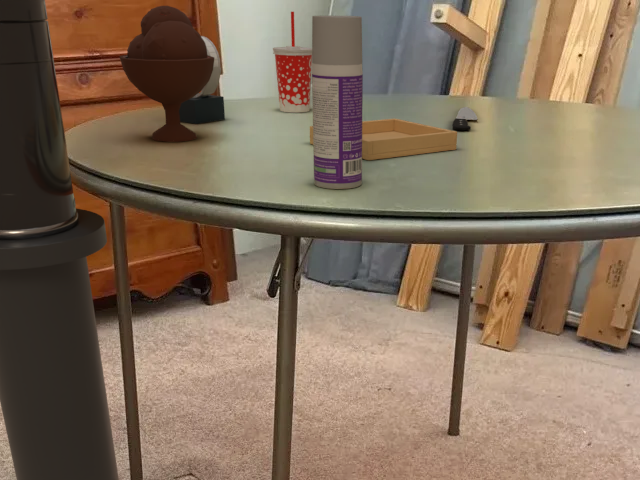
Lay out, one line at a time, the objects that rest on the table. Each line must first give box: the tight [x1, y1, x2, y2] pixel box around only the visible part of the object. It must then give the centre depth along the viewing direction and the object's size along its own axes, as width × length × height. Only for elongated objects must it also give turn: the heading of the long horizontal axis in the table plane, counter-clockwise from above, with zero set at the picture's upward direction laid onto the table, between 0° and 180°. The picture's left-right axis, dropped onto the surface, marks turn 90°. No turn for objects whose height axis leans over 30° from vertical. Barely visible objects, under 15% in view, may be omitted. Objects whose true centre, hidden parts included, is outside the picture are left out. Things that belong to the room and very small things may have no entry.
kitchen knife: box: [452, 106, 478, 131], centre depth 118 cm, size 23×3×1 cm, turn 171°
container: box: [311, 14, 364, 190], centre depth 74 cm, size 5×5×15 cm
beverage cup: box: [272, 11, 312, 113], centre depth 120 cm, size 6×6×14 cm
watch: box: [179, 35, 226, 125], centre depth 110 cm, size 6×8×11 cm
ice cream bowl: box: [119, 5, 214, 143], centre depth 96 cm, size 11×11×15 cm
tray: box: [309, 118, 458, 161], centre depth 96 cm, size 13×12×2 cm
